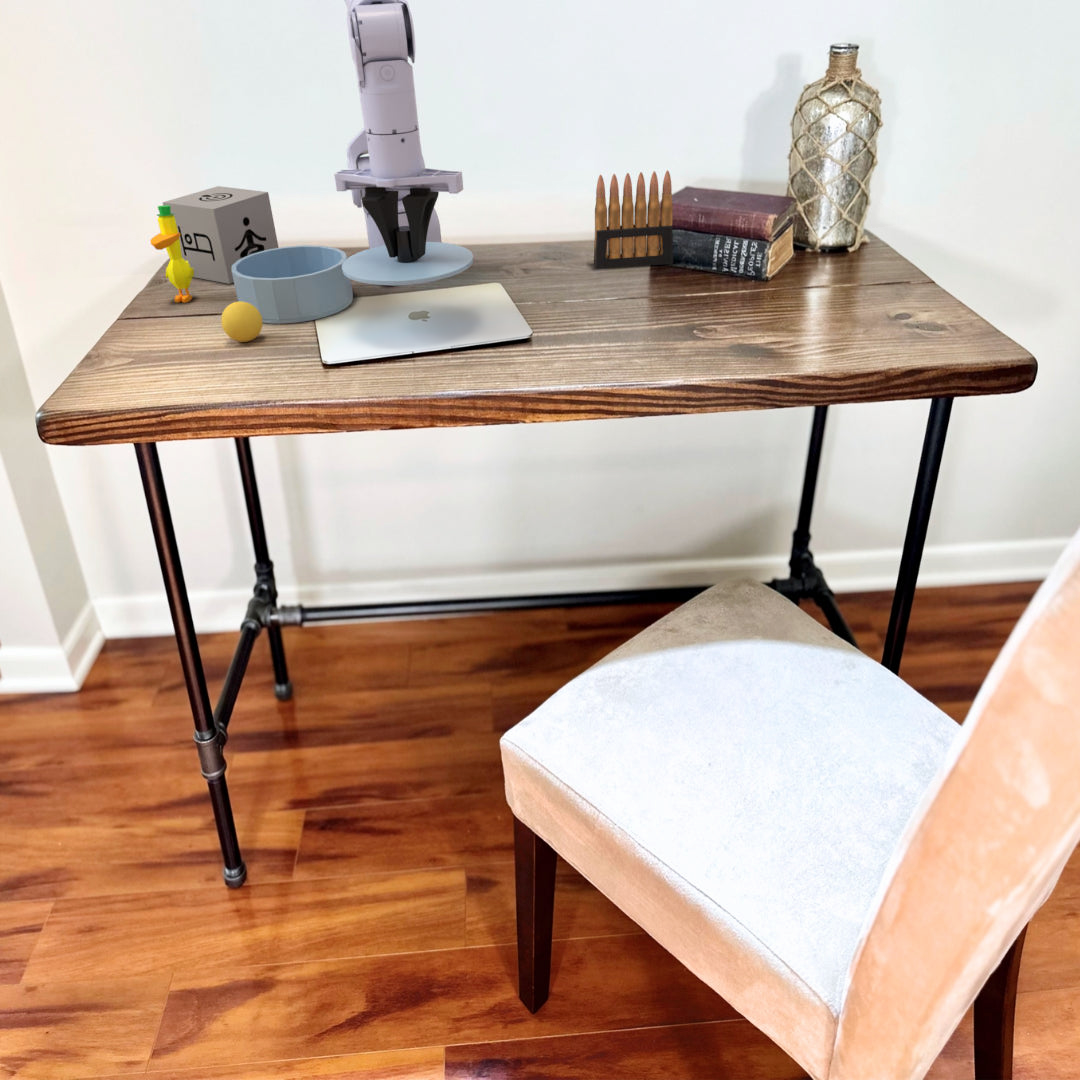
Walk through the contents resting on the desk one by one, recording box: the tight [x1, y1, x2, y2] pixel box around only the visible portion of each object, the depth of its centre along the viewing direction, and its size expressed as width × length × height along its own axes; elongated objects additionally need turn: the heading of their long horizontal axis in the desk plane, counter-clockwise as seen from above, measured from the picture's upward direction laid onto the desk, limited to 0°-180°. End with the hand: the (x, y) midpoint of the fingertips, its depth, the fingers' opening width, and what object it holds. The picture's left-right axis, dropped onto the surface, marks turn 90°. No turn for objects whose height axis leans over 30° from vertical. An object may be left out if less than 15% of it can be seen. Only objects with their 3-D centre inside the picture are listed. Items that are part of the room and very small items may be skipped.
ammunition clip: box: [593, 169, 674, 270], centre depth 129 cm, size 11×2×12 cm, turn 95°
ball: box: [220, 301, 263, 343], centre depth 113 cm, size 5×5×5 cm
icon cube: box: [162, 185, 280, 285], centre depth 136 cm, size 10×10×10 cm
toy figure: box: [150, 205, 194, 304], centre depth 125 cm, size 7×4×12 cm, turn 170°
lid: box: [342, 226, 474, 287], centre depth 112 cm, size 15×15×5 cm
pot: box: [232, 244, 354, 324], centre depth 123 cm, size 14×14×6 cm
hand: (407, 255), depth 112 cm, fingers closed on lid, 2 cm apart
